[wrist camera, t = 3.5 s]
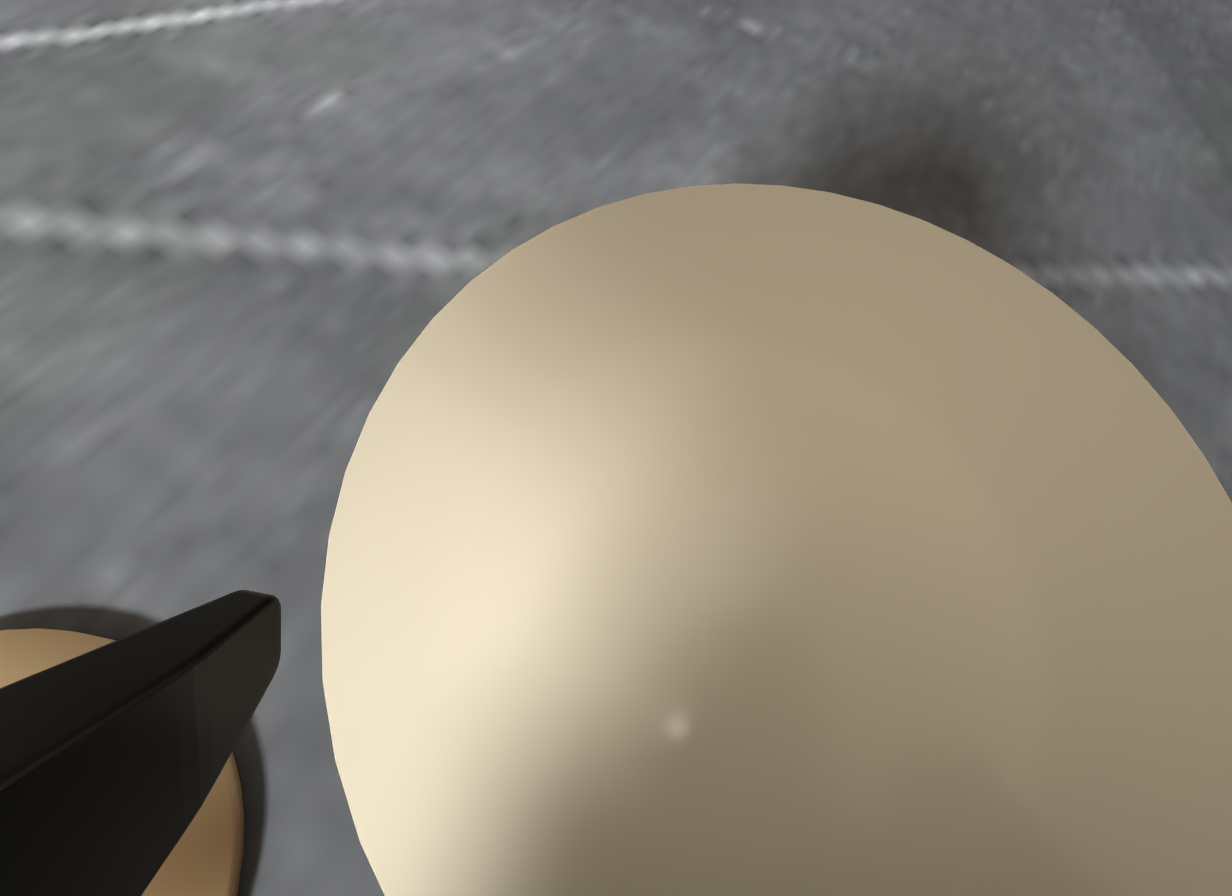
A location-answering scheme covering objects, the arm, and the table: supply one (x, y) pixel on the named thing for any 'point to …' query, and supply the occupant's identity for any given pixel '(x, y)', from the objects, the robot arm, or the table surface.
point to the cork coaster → (214, 841)
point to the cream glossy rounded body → (777, 577)
